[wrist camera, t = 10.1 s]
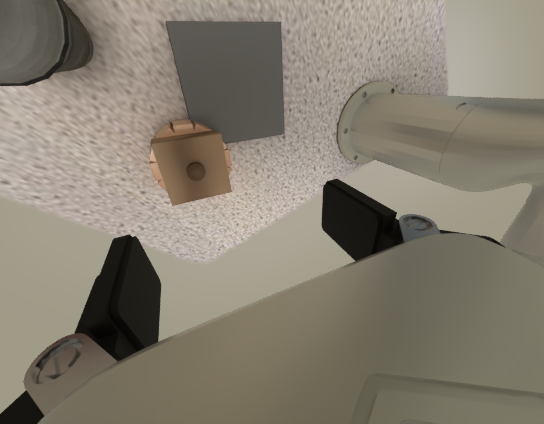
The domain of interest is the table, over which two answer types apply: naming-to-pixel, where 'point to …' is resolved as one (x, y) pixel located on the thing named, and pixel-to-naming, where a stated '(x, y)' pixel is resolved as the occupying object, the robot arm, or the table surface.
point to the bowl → (180, 129)
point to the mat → (231, 76)
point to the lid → (192, 165)
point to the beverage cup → (40, 41)
